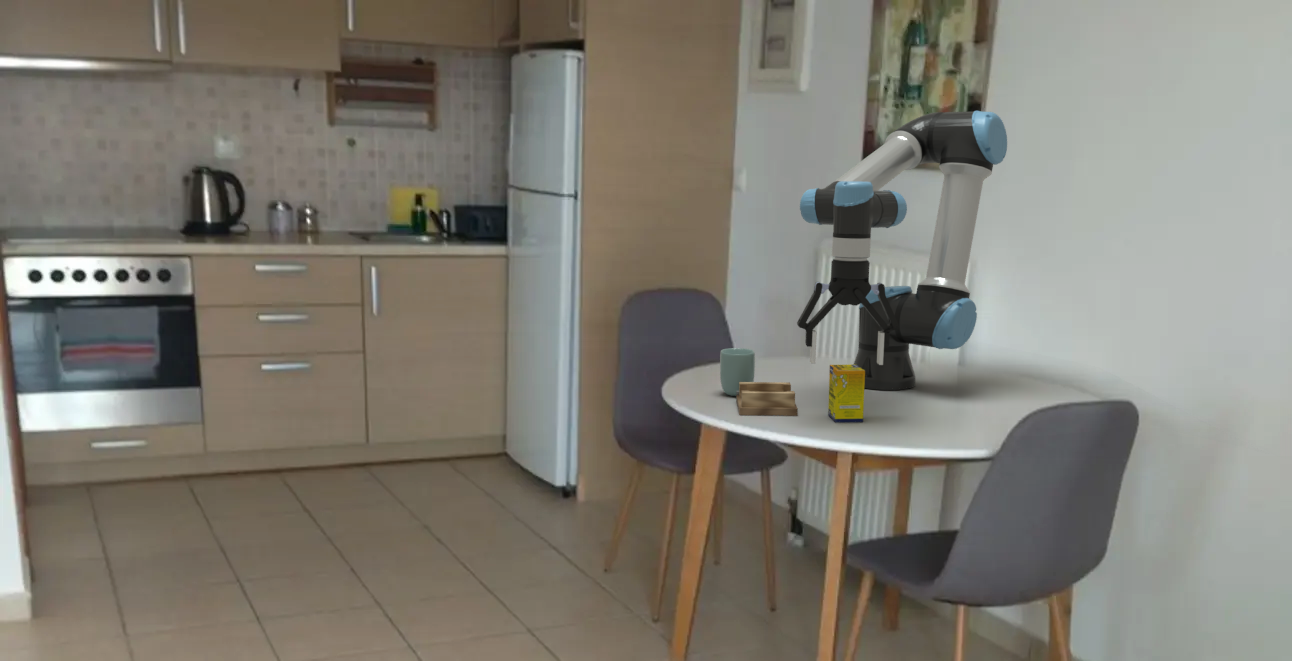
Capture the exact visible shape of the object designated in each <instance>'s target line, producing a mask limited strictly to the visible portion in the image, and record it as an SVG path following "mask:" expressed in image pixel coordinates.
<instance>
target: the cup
mask: <svg viewBox="0 0 1292 661" xmlns="http://www.w3.org/2000/svg"><path fill="white" fill-rule="evenodd" d="M719 357H720V358H719V360H720V361H719V378H720V384H721V389H722V391H723V392H724V394H725V395H727V396H730V397H736V391H739V382H755V375H756V374H755V370H756V369H755V368H756V352H755V350H753V349H750V348H743V347H742V348H741V347H736V348H735V347H733V348H732V347H730V348H724V349H721V350H720V355H719Z"/></svg>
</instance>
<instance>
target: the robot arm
mask: <svg viewBox="0 0 1292 661" xmlns="http://www.w3.org/2000/svg"><path fill="white" fill-rule="evenodd" d="M1007 135H1008V134H1007V130H1006V127H1005V124H1004V122H1003V120H1002V118H1001V117H1000V116H999V115H998V114H997V113H995V112H993V111H980V110H974V111H947V112H945V111H943V112H942V111H938V112H935V111H934V112H931V113H927V114H924V115H920V116H919V117H916V118H914V119H911V120H910V121H909V122H907V123H904V124H903V125H902V126H899V127H898V128H897V129H894V131H892V132H891V133H890V134H888V135H887V137H886V139H885V141H884V143H883V145H881V146H879V147H878V148H876V149H875V151H872V153H870V154H868V156H866V157H865V158H863V159H862V160H860V161H859V162H858V163H857V164H855V165H854V166H853V167H851V168H850V169H849V170H847V171H846V172H845V173H843V174H842V175H841V176H839V177H838V178H837V179H835V180H834V181H833V182H831V183H830V184H828V185H827V186H826V187H824V188H819V187H817V188H816V187H815V188H809V189H807V190H806V191H804V192H803V194H802V196H801V197H800V198H801V199H800V200H799V210H800V214H801V217H802V219H803V221H805V222H806V223H809V224H813V225H815V224H816V225H818V226H823V225H827V226H828V225H829V226H833V230H832V231H833V232H832V247H831V248H832V249H831V256H832V257H833V258H834V259H832V260H831V269H830V271H831V272H830V281H829V283H825V282H824V283H822V282H820V281H816V282H815V283H814V287H813V292H812V294H811V296H810V298H809V300H808V302H807V303H806V305H805V307H804V309H803V311H802V312H801V314H800V317H799V318H798V320H797V322H796V324H797V326H798V328H801V329H803V330H805V340H804V341H805V345H806V347H809V348H810V350H809V352H810V353H809V362H810V363H811V364H814V365H815V364H816V358H817V357H816V356H817V352H816V351H817V331H816V329H815V328H816V327H817V326H818V325H819V323H821V321H822V320H823V319H824V318H825V317H826V316H827V315H828V314H829V313H830V311H831V310H832V309H833V308H835V307H836V305H838V304H839V305H841V306H849V305H850V306H855V307H856V306H858V305H859V307H858V310H859V315H858V316H859V320H858V322H859V323H858V349H857V353H856V356H855V359H854V361H853V364H857V365H858V366H859V367H860V368H861V369H863V370H865V385H864V389H868V390H869V389H871V390H876V391H877V390H880V391H897V390H899V391H900V390H908V389H911V388H914V387H916V374H915V370H914V367H913V363H912V360H911V359H912V358H911V357H910V356H911V355H910V353H909V351H910V345H916V346H923V347H930V348H935V349H938V350H943V349H944V350H945V349H947V350H956V349H959V348H961V347H963V346H964V345H965V344H966V343H967V342H968V341H969V339H970V338H971V336H972V334H973V332H974V330H975V327H976V323H977V318H978V317H977V316H978V313H977V306H976V304H975V302H974V300H971V299H970V298H971V297H970V296H971V292H970V290H969V289H968V287H967V286H966V277H967V273H968V268H969V262H970V256H971V253H972V252H971V251H972V245H973V240H974V236H975V235H974V234H975V228H976V222H977V218H978V213H979V212H978V211H979V208H980V202H981V201H980V200H981V195H982V189H983V184H984V181H985V180H986V179H987V178H989V177H990V176H991V175H993V174H992V173H993V168H994V165H998V164H1001V163H1002V162H1003V161H1004V159H1005V157H1006V156H1007V149H1008V136H1007ZM923 164H939V165H938V166H939V167H938V168H939V170H940V171H941V172H942V173H943V181H942V188H941V194H940V199H939V204H938V208H937V209H938V210H937V215H936V220H935V226H934V232H933V237H932V243H931V247H930V248H931V249H930V255H929V258H928V265H927V269H926V270H927V271H926V274H925V275H926V276H925V278H924V279H923V280H922V281H921V282H919V283H918V284H917V286H916V287H917V288H916V292H915V293H913V290H912V287H911V286H910V285H894V286H893V285H892V286H885V284H883V283H882V282H877V283H875V284H870V263H871V262H870V261H869V260H868V258H870V257H871V241H872V240H871V238H872V237H871V236H872V234H871V233H872V229H873V228H874V229H875V228H877V229H878V228H886V229H888V228H891V227H896V226H898V225H900V224H902V222H903V221H904V219H905V218H906V215H907V213H908V212H907V211H908V205H907V202H906V199H905V198H904V196H903V195H902V194H901V193H899V192H897V191H893V190H889V189H888V190H885V189H884V190H881V189H882V188H883V187H885V186H886V185H887V184H889V183H890V182H891V181H892V180H893V179H895V178H896V177H897V176H898V175H900V174H901V173H903V172H904V171H909V170H912V169H915V168H916V167H918V166H919V165H923ZM827 290H828V291H829V293H830V294H831V295H832V296H830V298H828V300H827V301H826V303H825V304H824V305H823V306H822V307H821V308H820V309H819V310H818V311H817V312H816V313H815V315H814V316H813V317H812V318H810V316H811V314H812V312H813V311H814V309H815V307H816V305H817V303H818V301H819V300H820V297H821V295H823V294H824V293H825V292H826V291H827ZM809 318H810V320H809ZM808 320H809V321H808Z"/></svg>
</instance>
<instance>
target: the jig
mask: <svg viewBox="0 0 1292 661" xmlns="http://www.w3.org/2000/svg"><path fill="white" fill-rule="evenodd" d="M735 397H736V399H735V400H736V401H735V402H736V406H737V411H738V413H739V416H773V415H775V416H777V415H779V416H781V415H783V416H782V417H785V416H786V417H787V416H788V417H791V416H793V417H794V416H795V417H797V416H798V415H799V414H798V412H799V410H798V409H799V408H798V406H797V404H796V393H795V391H794V390H792V384H791V382H790V381H789V382H783V381H781V382H779V381H777V382H775V381H769V382H768V381H754V382H739V391H736V396H735ZM775 416H774V417H775ZM777 417H778V416H777Z"/></svg>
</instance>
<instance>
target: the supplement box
mask: <svg viewBox="0 0 1292 661" xmlns="http://www.w3.org/2000/svg"><path fill="white" fill-rule="evenodd" d="M828 379H829V380H828V383H829V384H828V404H827V405H828V406H827V407H828V408H827V409H828V411H827V415H828V417H830V418H831V419H832V421H833V422H835V424H838V423H839V424H841V423H842V424H843V423H863V422H864V410H865V407H864V405H865V404H864V403H865V388H864V385H865V370H863V369H861V368H860V367H859V366H858V365H857V364H854V363H853V364H830V365H829V378H828Z"/></svg>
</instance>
